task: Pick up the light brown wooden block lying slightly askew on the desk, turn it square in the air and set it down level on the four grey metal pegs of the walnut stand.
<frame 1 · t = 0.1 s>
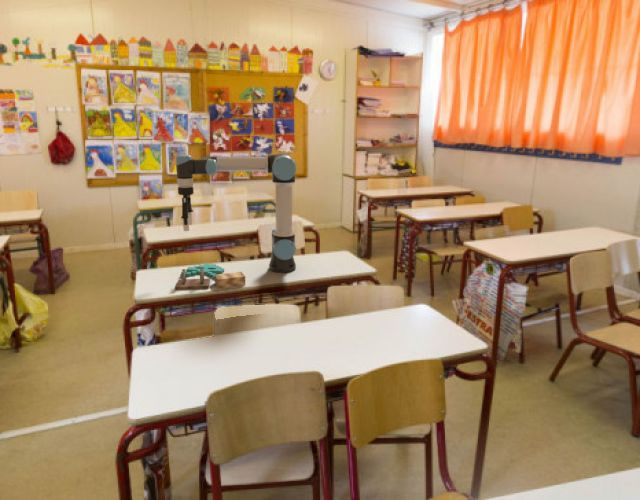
hand: (188, 227, 249), 28 cm above the table, tool pointing down, fingers open, 13 cm apart
alien figure: (204, 273, 268), on the table
peg stand: (193, 285, 248), on the table
light brown wooden block: (230, 284, 251), on the table
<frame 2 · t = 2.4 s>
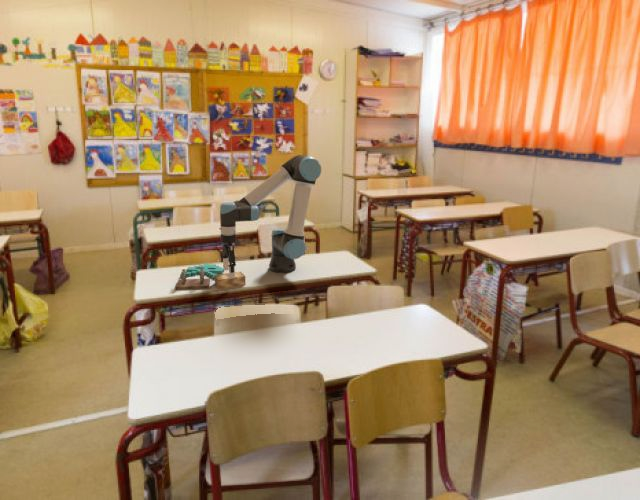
hand: (228, 274, 249), 5 cm above the table, tool pointing down, fingers open, 13 cm apart
nothing on the table moved.
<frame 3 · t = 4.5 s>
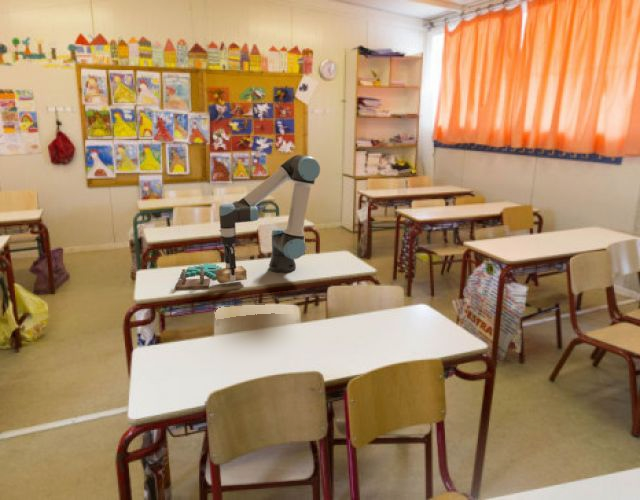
hand: (231, 277, 250), 3 cm above the table, tool pointing down, fingers closed on light brown wooden block, 8 cm apart
light brown wooden block: (231, 279, 250), point 3 cm above the table, touching gripper
everything else where it was.
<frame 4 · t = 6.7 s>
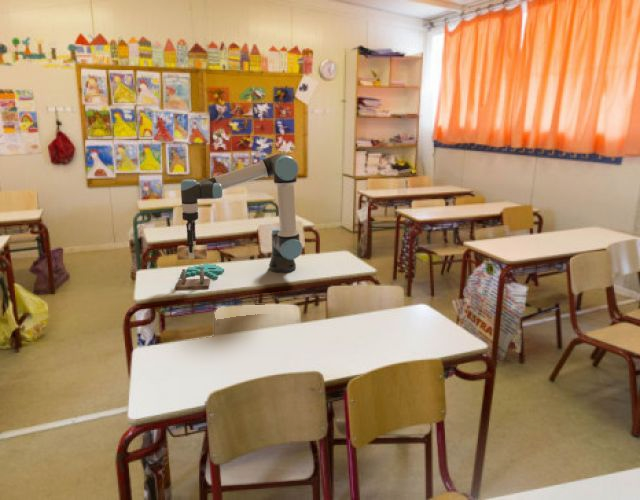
hand: (192, 256, 244), 16 cm above the table, tool pointing down, fingers closed on light brown wooden block, 8 cm apart
light brown wooden block: (192, 257, 244), point 15 cm above the table, touching gripper
everything else where it was.
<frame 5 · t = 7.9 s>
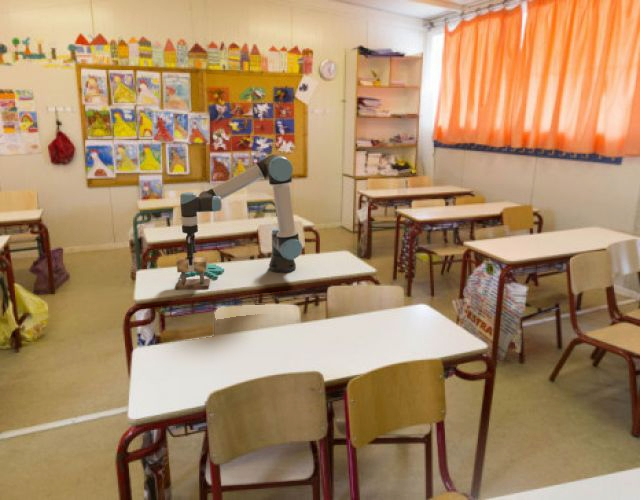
hand: (192, 268, 245), 9 cm above the table, tool pointing down, fingers closed on light brown wooden block, 8 cm apart
light brown wooden block: (192, 269, 246), point 9 cm above the table, touching gripper
everything else where it was.
when the fingers open (9 cm above the table, at t = 8.8 s): light brown wooden block stays where it is, resting on peg stand.
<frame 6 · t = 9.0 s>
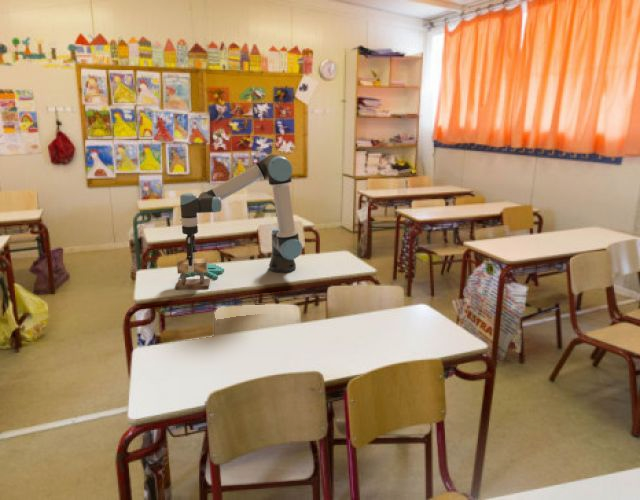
hand: (192, 268, 245), 9 cm above the table, tool pointing down, fingers open, 10 cm apart
light brown wooden block: (192, 270, 246), point 8 cm above the table, touching peg stand
everything else where it was.
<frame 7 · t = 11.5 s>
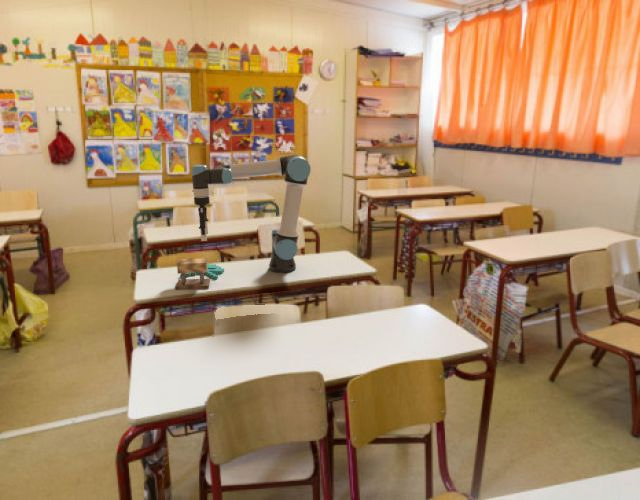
hand: (204, 237, 249), 23 cm above the table, tool pointing down, fingers open, 13 cm apart
nothing on the table moved.
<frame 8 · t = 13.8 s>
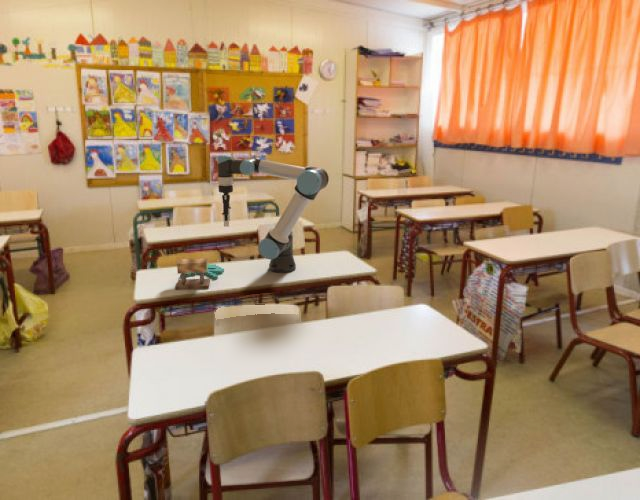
hand: (227, 223, 265), 27 cm above the table, tool pointing down, fingers open, 13 cm apart
nothing on the table moved.
at the end: light brown wooden block 0.1 cm off-centre on the peg stand, point 8.0 cm above the peg stand's base; light brown wooden block tilted 0°; the gripper is holding nothing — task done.
